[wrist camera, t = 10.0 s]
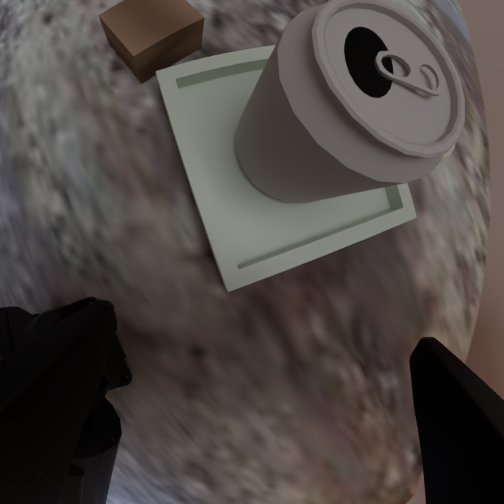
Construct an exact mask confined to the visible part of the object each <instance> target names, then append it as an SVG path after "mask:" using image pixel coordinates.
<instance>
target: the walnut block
mask: <svg viewBox="0 0 504 504" xmlns="http://www.w3.org/2000/svg"><path fill="white" fill-rule="evenodd" d="M99 18H100V21H101V24H102V26H103V29H104V31H105V34H106V36H107V39H108V42H109V44H110V45H111V47H112V48H113V49H114V50H115V51H116V53H117V54H118V55H119V56H120V58H121V59H122V60H123V61H124V62H125V64H126V65H127V66H128V67H129V69H130V70H131V71H132V72H133V73H134V75H135V76H136V77H137V78H138V80H139V81H140V82H141V83H142V84H143V83H144V82H146V81H147V80H149V79H150V78H152V77H153V76H155V75H156V71H158V70H161V69H165V68H168V67H169V66H171V65H173V64H174V63H176V62H178V61H179V60H181V59H183V58H184V57H186V56H188V55H190V54H192V53H193V52H195V51H197V50H199V49H201V44H202V34H203V25H204V17H203V16H202V15H201V14H200V13H199V12H198V11H197V10H196V9H195V8H194V7H192V6H191V5H190V4H189V3H188V2H187V1H186V0H124V1H122V2H121V3H119V4H117V5H115V6H114V7H112V8H110V9H108V10H107V11H105V12H103V13H102V14H100V15H99Z"/></svg>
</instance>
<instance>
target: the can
mask: <svg viewBox="0 0 504 504" xmlns="http://www.w3.org/2000/svg"><path fill="white" fill-rule="evenodd" d="M464 123H465V98H464V94H463V90H462V86H461V82H460V79H459V76H458V74H457V71H456V69H455V67H454V65H453V63H452V61H451V59H450V57H449V55H448V54H447V52H446V51H445V50H444V48H443V47H442V46H441V44H440V43H439V42H438V40H437V39H436V38H435V36H434V35H433V34H432V33H431V32H430V31H429V30H428V29H427V28H426V27H425V26H424V25H423V24H421V23H420V22H419V21H418V20H417V19H416V18H415V17H413V16H412V15H410V14H409V13H407V12H406V11H404V10H402V9H401V8H399V7H398V6H396V5H394V4H392V3H389V2H386V1H384V0H329V1H328V2H327V3H326V4H322V5H319V6H316V7H313V8H310V9H307V10H304V11H302V12H300V13H299V14H298V15H297V16H296V17H295V18H294V19H293V20H292V21H291V22H290V23H289V24H288V25H287V26H285V28H284V30H283V32H282V34H281V36H280V38H279V40H278V42H277V44H276V46H275V47H274V49H273V51H272V53H271V55H270V57H269V59H268V61H267V63H266V65H265V67H264V69H263V71H262V73H261V75H260V77H259V79H258V81H257V84H256V86H255V88H254V90H253V92H252V94H251V96H250V98H249V100H248V102H247V105H246V107H245V109H244V111H243V113H242V115H241V118H240V121H239V124H238V127H237V130H236V153H237V156H238V159H239V161H240V164H241V167H242V170H243V171H244V172H245V174H246V175H247V176H248V177H249V179H250V180H251V181H252V183H253V184H254V185H255V186H256V187H257V188H259V189H260V190H262V191H263V192H264V193H266V194H267V195H269V196H270V197H272V198H275V199H278V200H281V201H284V202H287V203H310V202H315V201H320V200H324V199H329V198H334V197H339V196H343V195H348V194H353V193H358V192H363V191H368V190H373V189H378V188H383V187H389V186H394V185H399V184H404V183H407V182H410V181H413V180H416V179H419V178H422V177H424V176H427V175H428V174H429V173H430V172H431V171H432V170H433V169H434V168H435V167H436V166H437V165H438V163H439V162H440V161H441V160H442V158H443V155H444V153H447V152H448V151H449V150H450V149H451V148H452V147H453V146H454V145H455V143H456V142H457V141H458V140H459V138H460V135H461V132H462V129H463V126H464Z"/></svg>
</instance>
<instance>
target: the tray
mask: <svg viewBox="0 0 504 504" xmlns="http://www.w3.org/2000/svg"><path fill="white" fill-rule="evenodd" d="M275 46H276V45H272V46H265V47H258V48H252V49H246V50H240V51H235V52H230V53H225V54H220V55H215V56H211V57H206V58H202V59H198V60H194V61H190V62H186V63H182V64H179V65H175V66H171V67H168V68H165V69H161V70H158V71H156V76H157V81H158V86H159V90H160V93H161V97H162V100H163V103H164V107H165V110H166V113H167V117H168V120H169V123H170V127H171V130H172V133H173V136H174V139H175V143H176V146H177V149H178V152H179V155H180V158H181V162H182V165H183V168H184V171H185V174H186V177H187V180H188V183H189V186H190V189H191V192H192V195H193V198H194V201H195V204H196V207H197V210H198V213H199V216H200V219H201V222H202V225H203V228H204V231H205V234H206V236H207V239H208V242H209V245H210V248H211V251H212V254H213V256H214V259H215V262H216V265H217V268H218V270H219V273H220V276H221V279H222V282H223V284H224V286H225V288H226V290H227V291H228V292H230V291H232V290H235V289H238V288H240V287H243V286H246V285H249V284H251V283H254V282H256V281H259V280H262V279H264V278H267V277H270V276H272V275H275V274H278V273H280V272H283V271H285V270H288V269H291V268H293V267H296V266H298V265H301V264H303V263H306V262H309V261H311V260H314V259H316V258H319V257H321V256H324V255H326V254H329V253H331V252H334V251H336V250H339V249H341V248H344V247H346V246H349V245H351V244H354V243H356V242H359V241H361V240H364V239H366V238H368V237H371V236H373V235H376V234H378V233H381V232H383V231H385V230H388V229H390V228H393V227H395V226H397V225H400V224H402V223H405V222H407V221H409V220H412V219H414V218H416V213H415V209H414V205H413V201H412V197H411V194H410V190H409V187H408V183H404V184H399V185H394V186H389V187H383V188H378V189H373V190H368V191H363V192H358V193H353V194H348V195H343V196H339V197H334V198H329V199H324V200H320V201H315V202H310V203H287V202H284V201H281V200H278V199H275V198H272V197H270V196H269V195H267V194H266V193H264V192H263V191H262V190H260V189H259V188H257V187H256V186H255V185H254V184H253V183H252V181H251V180H250V179H249V177H248V176H247V175H246V174H245V172H244V171H243V170H242V167H241V164H240V161H239V159H238V156H237V153H236V130H237V127H238V124H239V121H240V118H241V115H242V113H243V111H244V109H245V107H246V105H247V102H248V100H249V98H250V96H251V94H252V92H253V90H254V88H255V86H256V84H257V81H258V79H259V77H260V75H261V73H262V71H263V69H264V67H265V65H266V63H267V61H268V59H269V57H270V55H271V53H272V51H273V49H274V47H275Z"/></svg>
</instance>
